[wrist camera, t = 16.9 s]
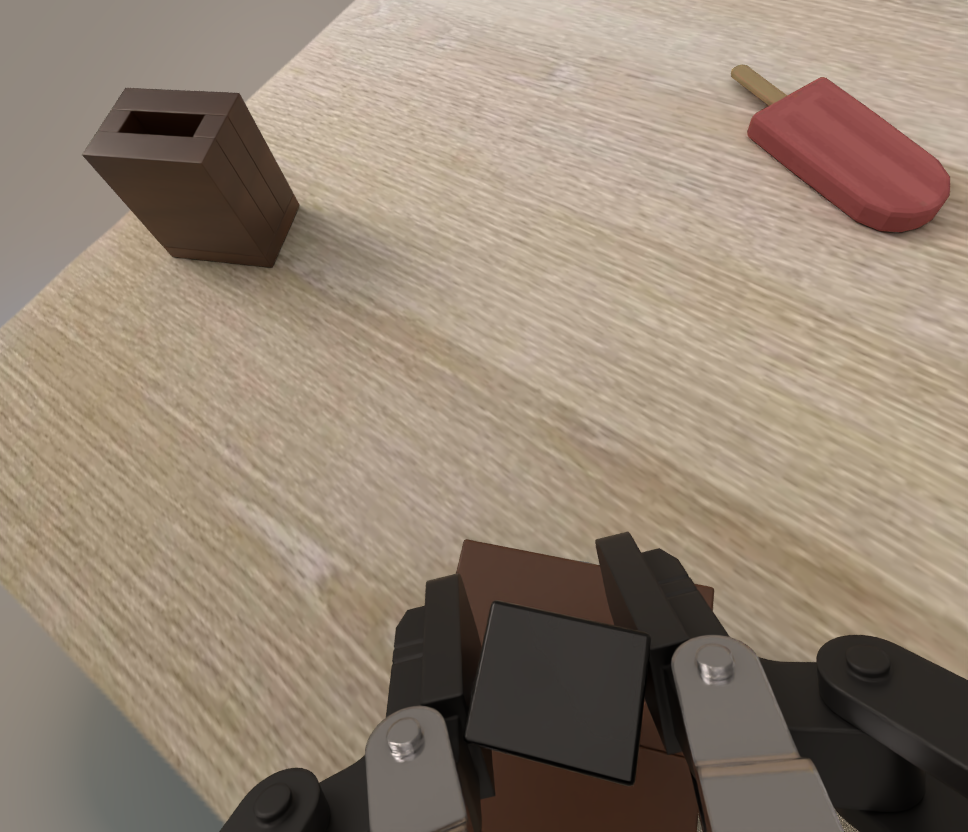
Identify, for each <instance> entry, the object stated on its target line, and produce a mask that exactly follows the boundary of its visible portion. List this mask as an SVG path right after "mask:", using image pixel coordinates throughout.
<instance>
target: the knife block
mask: <svg viewBox="0 0 968 832" xmlns="http://www.w3.org/2000/svg"><path fill="white" fill-rule="evenodd" d="M82 155H83V157H84V158H85V159H86V160H87V161H88V162H89V163H90V164H91V165H92V167H93V168H94V169H95V170H96V171H97V172H98V173H99V175H100V176H101V177H102V178H103V179H104V180H105V181H106V182H107V184H108V185H109V186H110V187H111V188H112V189H113V190H114V192H115V193H116V194H117V195H118V196H119V197H120V198H121V199H122V201H123V202H124V203H125V204H126V205H127V206H128V207H129V209H130V210H131V211H132V212H133V213H134V214H135V215H136V216H137V218H138V219H139V220H140V221H141V222H142V223H143V224H144V225H145V227H146V228H147V229H148V230H149V231H150V232H151V233H152V235H153V236H154V237H155V238H156V239H157V240H158V241H159V242H160V244H161V245H162V246H163V247H164V248H165V249H166V250H167V251H168V252H169V254H170V255H171V256H172V257H179V258H189V259H198V260H207V261H216V262H225V263H234V264H244V265H253V266H262V267H271V268H272V267H273V265H274V262H275V260H276V258H277V256H278V253H279V251H280V249H281V246H282V244H283V242H284V240H285V237H286V235H287V233H288V230H289V228H290V226H291V224H292V221H293V219H294V217H295V215H296V212H297V210H298V208H299V203H298V201H297V199H296V197H295V195H294V194H293V192H292V190H291V188H290V186H289V184H288V182H287V181H286V179H285V177H284V175H283V173H282V171H281V169H280V168H279V166H278V164H277V162H276V160H275V158H274V156H273V155H272V153H271V151H270V149H269V147H268V145H267V143H266V142H265V140H264V138H263V136H262V134H261V132H260V130H259V129H258V127H257V125H256V123H255V121H254V119H253V117H252V116H251V114H250V112H249V110H248V108H247V106H246V104H245V103H244V101H243V99H242V97H241V95H240V94H239V93H228V92H205V91H181V90H161V89H139V88H125V89H124V91H123V92H122V94H121V95H120V97H119V98H118V100H117V101H116V103H115V105H114V106H113V108H112V110H111V111H110V113H109V114H108V115H107V117H106V119H105V120H104V122H103V123H102V124H101V126H100V128H99V129H98V131H97V132H96V134H95V135H94V137H93V138H92V140H91V142H90V143H89V144H88V146H87V147H86V149H85V151H84V152H83V154H82Z"/></svg>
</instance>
